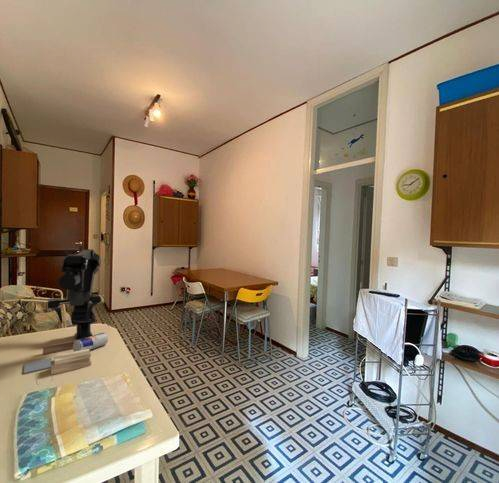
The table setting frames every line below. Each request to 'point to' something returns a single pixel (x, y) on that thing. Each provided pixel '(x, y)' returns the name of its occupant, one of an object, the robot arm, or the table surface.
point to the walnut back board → (58, 347)
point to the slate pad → (37, 365)
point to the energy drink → (90, 342)
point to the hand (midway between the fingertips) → (74, 320)
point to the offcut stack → (70, 361)
